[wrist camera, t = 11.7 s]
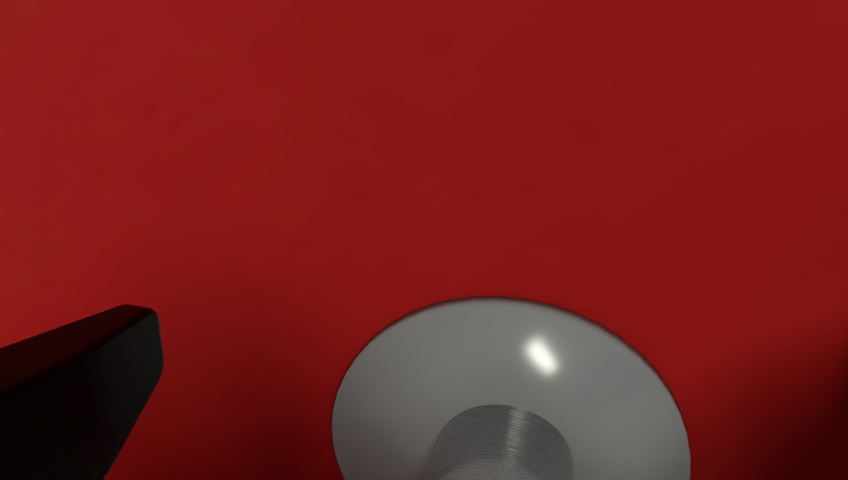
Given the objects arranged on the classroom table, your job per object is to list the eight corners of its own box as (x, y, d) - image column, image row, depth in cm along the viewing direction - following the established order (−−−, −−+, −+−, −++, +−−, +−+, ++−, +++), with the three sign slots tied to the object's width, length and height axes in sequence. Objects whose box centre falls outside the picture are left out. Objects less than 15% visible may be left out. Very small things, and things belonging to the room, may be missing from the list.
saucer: (728, 331, 22) (732, 342, 21) (649, 603, 27) (650, 617, 27) (337, 269, 24) (331, 278, 23) (336, 534, 29) (331, 546, 29)
